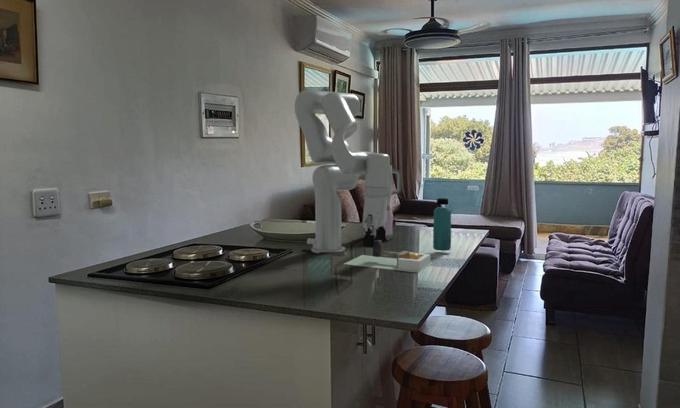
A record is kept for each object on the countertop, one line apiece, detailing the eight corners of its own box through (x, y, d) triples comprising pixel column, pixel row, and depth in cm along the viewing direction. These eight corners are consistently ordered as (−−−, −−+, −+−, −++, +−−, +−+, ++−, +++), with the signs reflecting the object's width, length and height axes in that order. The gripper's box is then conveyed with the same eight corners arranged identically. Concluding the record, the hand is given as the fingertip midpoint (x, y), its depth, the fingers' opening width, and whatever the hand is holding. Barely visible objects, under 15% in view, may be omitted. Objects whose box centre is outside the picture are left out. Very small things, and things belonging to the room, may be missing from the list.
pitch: (343, 266, 161) (343, 263, 161) (362, 257, 174) (362, 255, 174) (418, 275, 150) (418, 272, 150) (432, 265, 163) (432, 262, 163)
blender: (363, 241, 205) (363, 162, 202) (362, 236, 217) (363, 161, 214) (402, 241, 205) (403, 162, 201) (399, 236, 217) (400, 161, 213)
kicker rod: (368, 262, 162) (369, 241, 161) (376, 258, 167) (376, 238, 166) (403, 266, 157) (403, 245, 156) (409, 262, 162) (409, 241, 161)
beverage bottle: (451, 255, 179) (452, 199, 177) (432, 254, 180) (433, 198, 178) (450, 251, 185) (452, 197, 183) (432, 250, 187) (433, 197, 184)
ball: (418, 254, 155) (419, 267, 156) (422, 252, 159) (422, 264, 159) (405, 254, 157) (406, 267, 157) (409, 252, 161) (410, 264, 161)
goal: (397, 268, 155) (398, 259, 155) (409, 261, 165) (409, 252, 164) (419, 271, 152) (420, 261, 152) (430, 263, 162) (430, 254, 161)
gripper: (376, 188, 171) (374, 238, 173) (355, 193, 155) (353, 247, 158) (397, 190, 168) (394, 240, 170) (377, 195, 152) (375, 250, 155)
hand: (374, 244), depth 164 cm, fingers open, 9 cm apart
